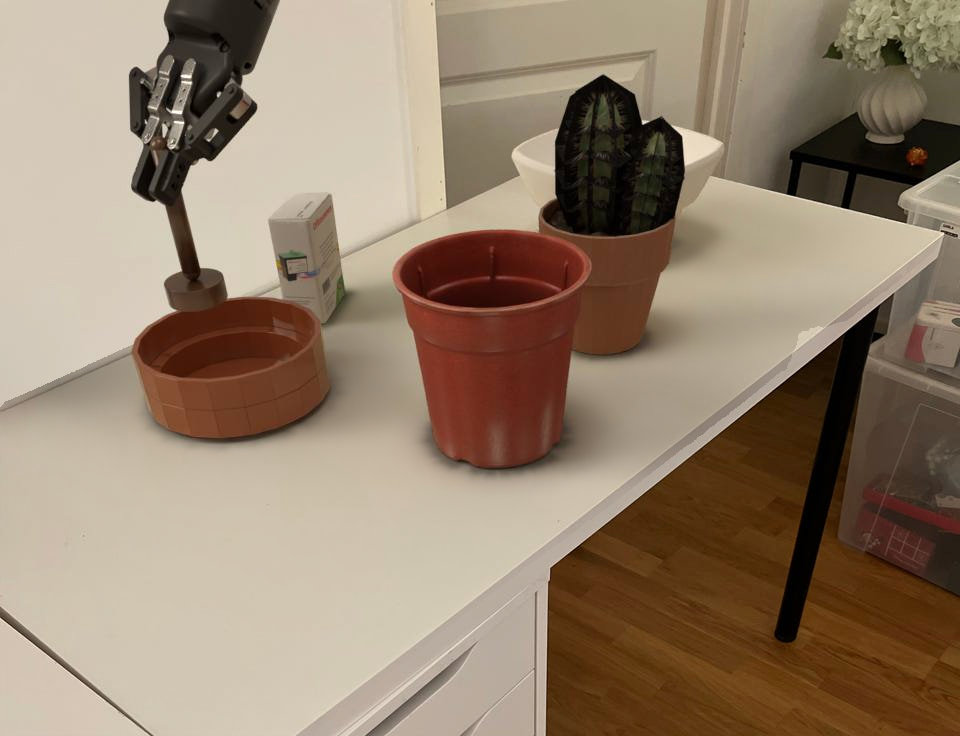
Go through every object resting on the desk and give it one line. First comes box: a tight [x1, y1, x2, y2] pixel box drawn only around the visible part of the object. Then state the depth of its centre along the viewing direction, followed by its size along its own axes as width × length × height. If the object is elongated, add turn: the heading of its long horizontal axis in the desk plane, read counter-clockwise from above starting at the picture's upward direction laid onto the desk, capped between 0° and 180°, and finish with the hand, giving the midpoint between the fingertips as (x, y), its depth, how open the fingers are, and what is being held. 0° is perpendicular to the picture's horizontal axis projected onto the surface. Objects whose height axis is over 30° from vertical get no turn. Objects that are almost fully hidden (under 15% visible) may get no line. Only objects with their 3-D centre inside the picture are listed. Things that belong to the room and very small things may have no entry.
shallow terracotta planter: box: [130, 296, 331, 439], centre depth 97 cm, size 18×18×6 cm
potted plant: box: [537, 73, 685, 356], centre depth 97 cm, size 14×14×25 cm
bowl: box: [511, 119, 725, 223], centre depth 120 cm, size 22×22×12 cm
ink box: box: [267, 192, 346, 324], centre depth 110 cm, size 8×5×12 cm, turn 170°
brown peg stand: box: [150, 136, 229, 312], centre depth 82 cm, size 5×5×13 cm
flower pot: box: [391, 228, 591, 469], centre depth 86 cm, size 16×16×16 cm
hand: (151, 198), depth 79 cm, fingers closed on brown peg stand
